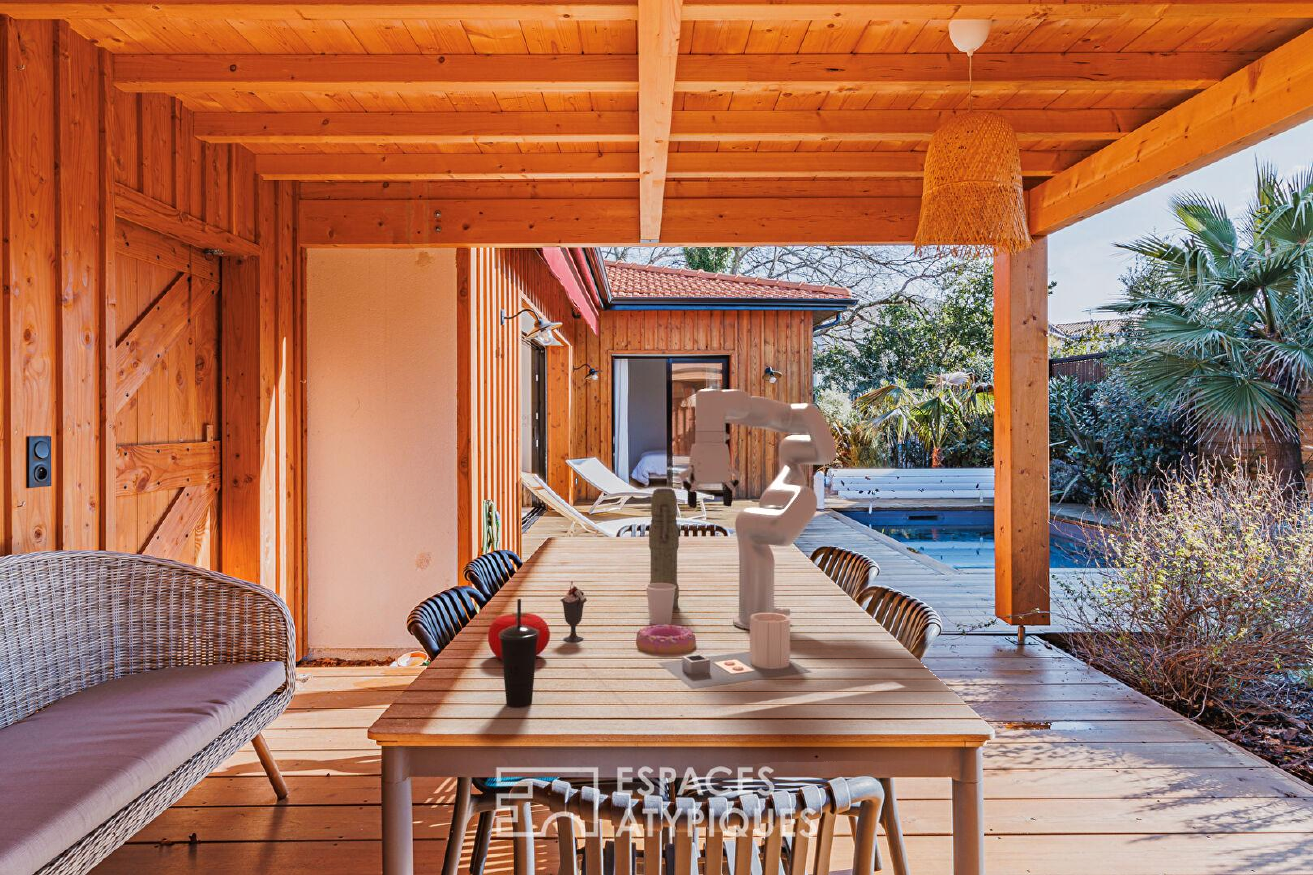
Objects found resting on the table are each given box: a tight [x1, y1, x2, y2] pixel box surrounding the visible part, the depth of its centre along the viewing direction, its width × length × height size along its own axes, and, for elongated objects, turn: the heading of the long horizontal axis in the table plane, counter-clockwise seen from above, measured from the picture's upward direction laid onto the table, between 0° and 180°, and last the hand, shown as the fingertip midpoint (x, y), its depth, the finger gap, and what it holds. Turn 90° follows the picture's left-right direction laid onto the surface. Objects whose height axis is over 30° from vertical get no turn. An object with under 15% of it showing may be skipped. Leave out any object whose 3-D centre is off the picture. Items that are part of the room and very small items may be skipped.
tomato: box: [487, 612, 551, 660], centre depth 176 cm, size 14×13×10 cm
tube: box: [749, 613, 791, 669], centre depth 169 cm, size 9×9×10 cm
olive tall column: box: [648, 487, 680, 610], centre depth 227 cm, size 9×12×35 cm
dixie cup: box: [645, 583, 676, 625], centre depth 209 cm, size 8×8×10 cm
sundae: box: [559, 581, 587, 643], centre depth 191 cm, size 7×7×15 cm
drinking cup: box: [499, 598, 539, 709], centre depth 147 cm, size 8×8×20 cm
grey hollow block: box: [681, 653, 710, 676], centre depth 162 cm, size 4×4×3 cm
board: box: [658, 651, 812, 690], centre depth 165 cm, size 28×18×2 cm, turn 112°
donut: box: [635, 624, 697, 655], centre depth 182 cm, size 14×14×5 cm
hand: (710, 506), depth 192 cm, fingers open, 9 cm apart
